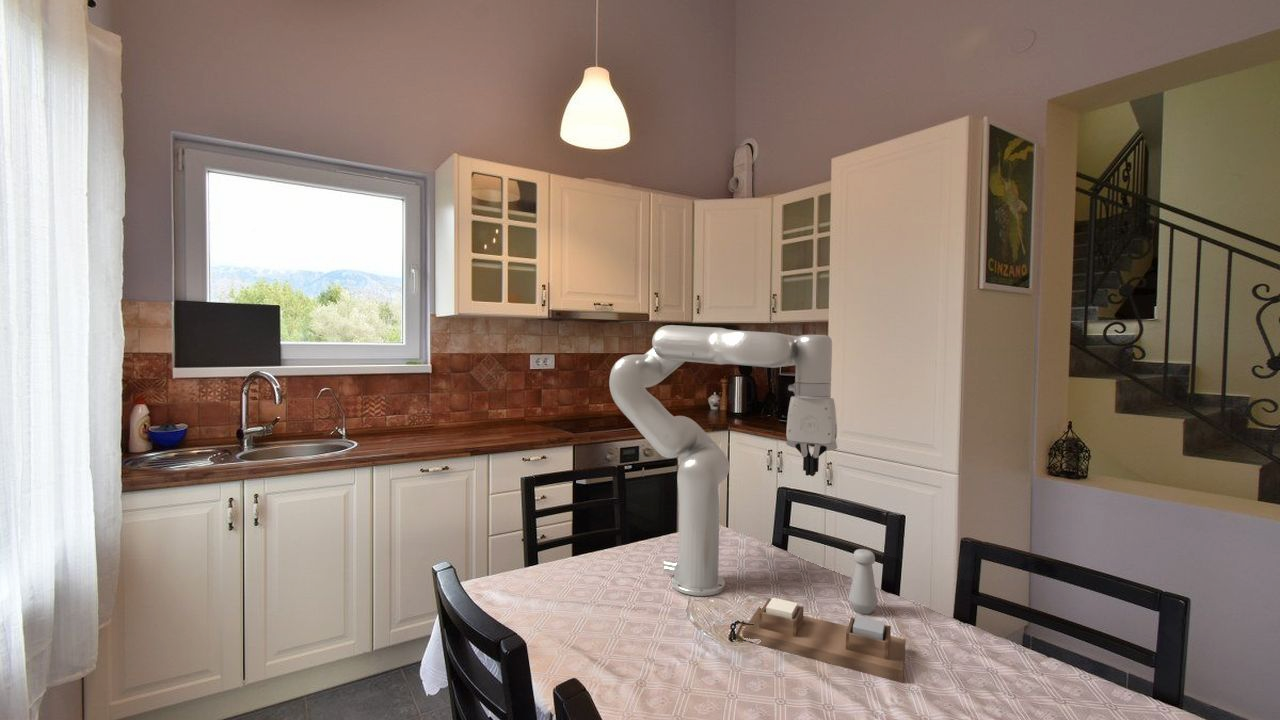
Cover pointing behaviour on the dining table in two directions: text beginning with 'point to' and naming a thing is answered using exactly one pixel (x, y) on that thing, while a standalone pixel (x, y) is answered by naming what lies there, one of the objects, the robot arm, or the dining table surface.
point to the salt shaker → (863, 583)
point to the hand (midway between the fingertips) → (810, 474)
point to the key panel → (829, 642)
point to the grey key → (869, 627)
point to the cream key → (782, 608)
